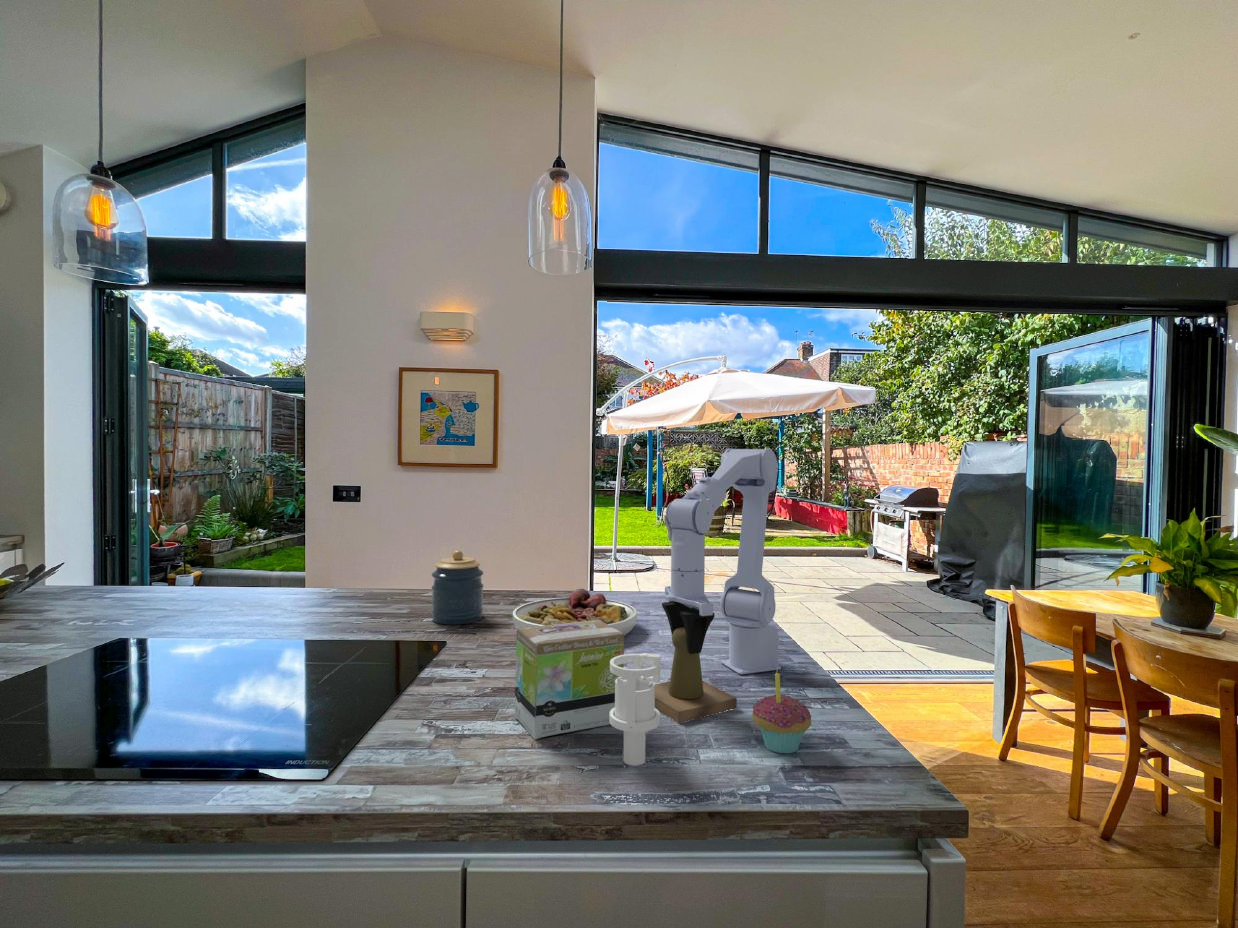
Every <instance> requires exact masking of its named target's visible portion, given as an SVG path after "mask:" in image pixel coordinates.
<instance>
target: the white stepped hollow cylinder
mask: <svg viewBox="0 0 1238 928" xmlns="http://www.w3.org/2000/svg"><path fill="white" fill-rule="evenodd" d="M628 663H629V664H630V663H633V664H634V668H626V667H623V668H622V667H619V666H617V665H620V664H628ZM643 664H646V665H650V666H651V667H648V668H646V667H645V668H643ZM610 672H611V673H613V674H614V675H617V676H620V677H618V678H617V679H616V680H615V707H614V708H612V709H611V710H610V715H609V722H610V724H611V725H610V726H611V727H613V728H614V729H617V730H620V731H623V762H624V764H625V765H628V766H634V767H637V766H642V765H643V764H645V762H646V732H648V731H652V730H654V729H656V728H657V727H659V726H660V724H661V712H659V711H658V710H657V709H656V708H655V683H661V654H656V653H655V654H654V653H648V652H643V653H640V654H639V653H628V654H624V655H620V656H616V657H614V658H612V659H611V660H610ZM650 682H651V683H652V684H651V685H652V687H651V688H649V686H650Z"/></svg>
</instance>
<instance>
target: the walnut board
mask: <svg viewBox="0 0 1238 928" xmlns="http://www.w3.org/2000/svg"><path fill="white" fill-rule="evenodd" d="M702 682H703V691H704V694H703V696H702V697H700V698H696V699H682V698H677V697H674V696H671V695H670V694H669V692H668V691H669V684H670V680H669V681H666V682H658V683H656V684H655V683H654V684H655V708H656V709H657V710H658V711H659V712H660V714H662V713H663V714H662V715H664V716H665V715H666V717H667V718H669V717H670V718H671V720H672V719H673V720H674V721H673V720H672V721H673V722H675V723H676V722H677V723H676V724H678V723H679V724H682V723H681V722H683V723H686V722H685V721H687V722H689V721H688V720H691V721H693V720H692V719H695V720H698V719H697V718H699V719H701V718H700V717H703V718H705V717H704V716H707V715H711V716H713V715H712V714H715V715H717V714H716V713H719V712H723V713H725V712H724V711H726V710H730V709H735V708H737V706H738V705H737V697H735V696H734V695H731V694H729V693H728V692H725V691H723V690H722V689H719V688H717V687H716V686H714V685H712V684H709V683H708V682H705V681H704V680H702ZM651 687H652V684H651V685H650V684H649V688H651ZM735 710H736V709H735ZM719 714H720V713H719ZM707 717H708V716H707ZM670 718H669V719H670Z"/></svg>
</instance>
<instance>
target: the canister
mask: <svg viewBox="0 0 1238 928" xmlns="http://www.w3.org/2000/svg"><path fill="white" fill-rule="evenodd" d="M479 566H481V562H480V561H478V560H476V559H475V558H473V557H469V556H464V553H463V552H462V551H461V550H455V551H453V553H452V557H445V558H442V559H440V561H438V562H436V563H435V564H434V567H435V568H436V570H434V571H433V572H432V573H431V577H432V578H433V584H432V586H431V593H432V594H431V595H432V598H431V601H432V602H431V603H432V605H431V606H432V607H431V618H432V621H433V622H435V623H437V624H442V625H463V624H470V623H475V622H477V621H479V620H481V619H482V618H483V614H484V606H483V603H484V601H483V600H484V599H483V598H484V596H483V595H484V589H483V588H484V584H483V582H482V576H483V575H484V571H483V570H482V569H480V567H479Z"/></svg>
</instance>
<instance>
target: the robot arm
mask: <svg viewBox="0 0 1238 928" xmlns="http://www.w3.org/2000/svg"><path fill="white" fill-rule="evenodd" d="M720 458H721V459H720V465H719V467H718V468H717V469H716V471H714V474H713V475H712V476H711V477H710V476H702V477H701V478H700V479H699V481H698V482H697V483H696V484H695V485H694V486H693V487H692V488H691V489H690V490H689V491H688V492H687V493H686V494H685V495H684V496H683V497H681V498H675V499H673V501H671V502H669V504H668V505H667V507H666V509H665V510H666V511H665V515H664V517H663V518H664V524H665V527H666V528H667V532H668V534H667V535H668V537H667V538H668V541H669V542H671V544H670V545H671V547H670V549H671V550H670V552H671V553H670V554H671V555H670V559H671V560H670V568H671V569H670V585H669V586H664V600H666V602H665V601H664V602H662V603H661V606H662V608H663V610H664V612H665V615H666V617H667V621H668V624H669V628H670V632H671V636H672V635H673V632H674V631H675V630H676V629H677V628H682V627H685V632H686V642H687V649H688V653H690V654H695V653H699V654H701V653H702V650H703V646H704V642H705V638H706V634H707V631H708V630H709V627H710V625H711V624H712V622H713V620H714V619H715V612H713V611H714V604H713V602H711V601H710V599H708V597H707V595H706V594H705V562H706V561H705V560H706V559H705V557H706V556H705V555H706V553H705V552H706V551H705V549H706V548H705V547H706V546H705V545H706V533H707V532H709V531H710V528H711V525H712V521H713V519H714V518H715V512H716V511H718V509H719V507H720V506H721V505H722V504H723V503H724V502H725V501H726V498H727V490H728V489H729V488H731V487H733V488H734V490H737V491H739V492H740V493H741V494H742V497H743V500H742V510H741V511H742V512H741V521H740V522H741V523H740V524H741V525H740V533H739V535H740V536H739V544H738V545H739V546H738V556H737V567H736V568H737V569H736V573H735V574H734V575H731V577H729V578H727V579H726V580H725V582H724V587H723V590H722V591H723V592H722V594H721V596H720V607H719V608H720V611H721V614H722V615H723V617H724V618H726V619H725V620H726V623H729V624H728V625H729V636H728V637H729V639H728V645H729V647H728V649H729V650H728V652H729V653H728V656H729V657H728V659H727V658H726V659H725V658H724V659H720V663H721V664H722V665H725V666H726V667H727V668H729V669H731V671H734V672H736V673H737V674H738V675H746V674H747V675H748V674H755V673H756V674H757V673H763V672H770V671H776V669H778V671H779V670H781V668H782V666H780V663H779V661H780V660H779V658H780V656H779V655H780V654H779V651H780V649H779V648H780V636H779V635H780V634H779V631H778V629H777V627H776V625H775V624H774V623H773V622H772V621H773V619H774V618H775V615H776V614H775V613H776V608H777V607H776V599H775V598H776V597H775V587H774V585H773V584H772V583H771V582H769V580H768V579H766V578H765V576H764V575H763V563H764V552H765V551H764V550H765V541H766V540H765V539H766V531H767V518H768V517H767V516H768V507H769V506H768V505H769V494H771V493H772V492H774V491H776V485H777V478H778V477H777V476H778V469H779V468H778V467H779V463H778V460H777V456H776V453H775V452H774V451H773V449H772V448H770V447H769V448H761V449H760V448H757V449H756V448H752V449H751V448H748V449H747V448H727V449H725V451H724V452H723V453H722V454H721V457H720ZM743 588H747V589H743ZM750 589H752V590H750ZM753 589H754V590H753Z"/></svg>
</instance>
